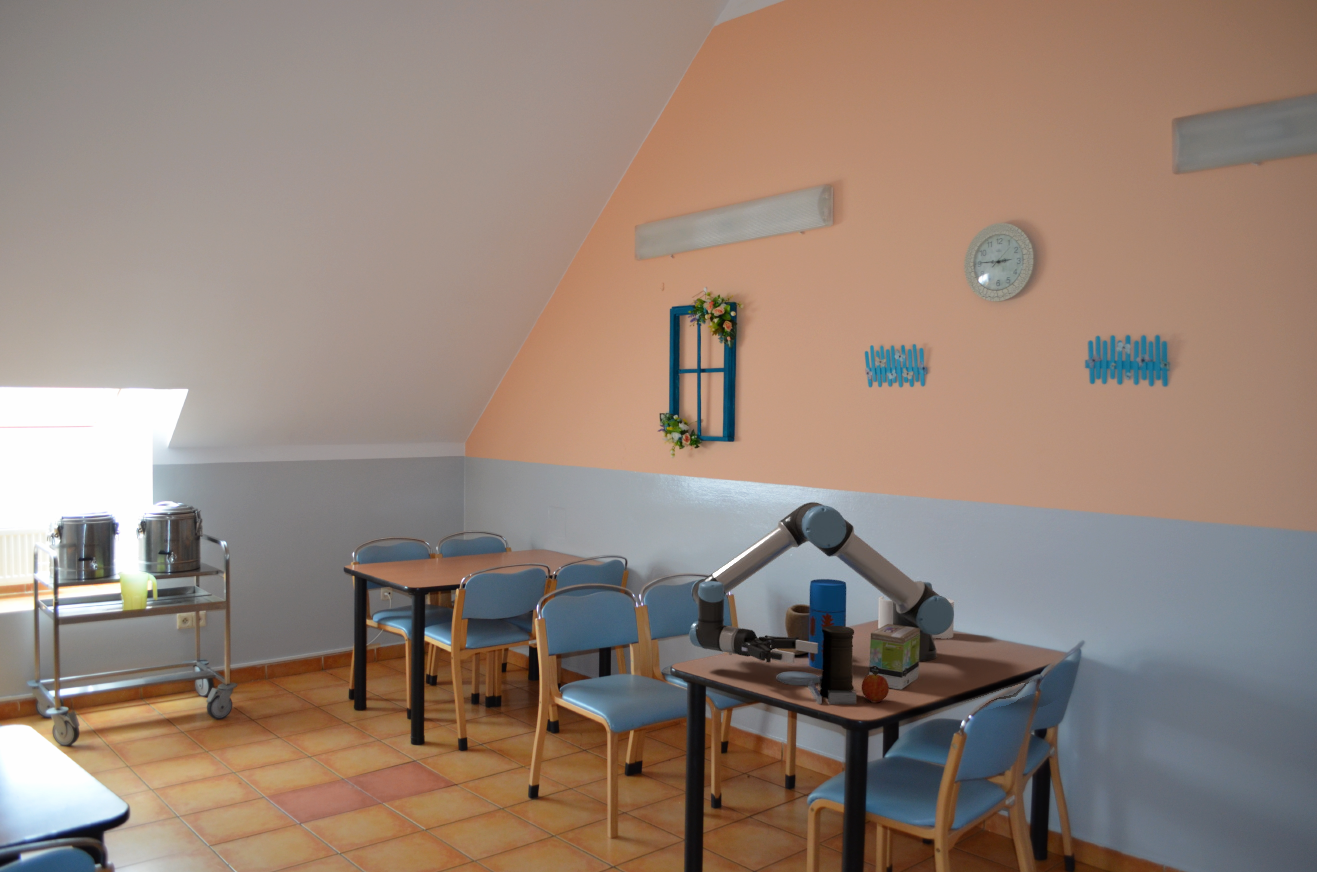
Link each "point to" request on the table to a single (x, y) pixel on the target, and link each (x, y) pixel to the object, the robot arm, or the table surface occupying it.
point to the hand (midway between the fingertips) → (805, 653)
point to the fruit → (875, 687)
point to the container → (837, 659)
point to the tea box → (895, 654)
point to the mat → (797, 678)
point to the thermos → (825, 613)
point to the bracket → (887, 617)
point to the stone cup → (797, 625)
